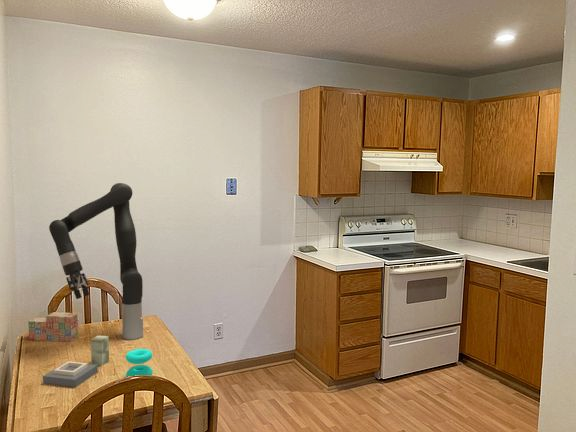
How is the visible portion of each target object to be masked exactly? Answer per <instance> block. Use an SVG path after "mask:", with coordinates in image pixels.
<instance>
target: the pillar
mask: <svg viewBox="0 0 576 432" xmlns="http://www.w3.org/2000/svg"><path fill="white" fill-rule="evenodd" d="M109 343H110V342H109V335H96V336H95V337H93V338H91V339H90V349H91V350H90V351H91V352H90V353H91V354H90V355H91V356H90V357H91V364H93V365H98V366H99V367H103V366H105V365H106V364H107V363H109V362H110V344H109Z"/></svg>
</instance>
